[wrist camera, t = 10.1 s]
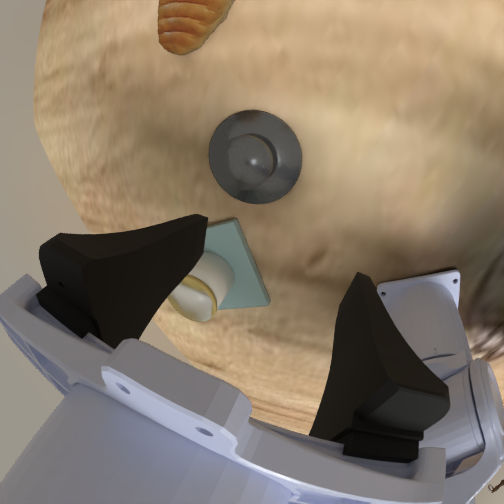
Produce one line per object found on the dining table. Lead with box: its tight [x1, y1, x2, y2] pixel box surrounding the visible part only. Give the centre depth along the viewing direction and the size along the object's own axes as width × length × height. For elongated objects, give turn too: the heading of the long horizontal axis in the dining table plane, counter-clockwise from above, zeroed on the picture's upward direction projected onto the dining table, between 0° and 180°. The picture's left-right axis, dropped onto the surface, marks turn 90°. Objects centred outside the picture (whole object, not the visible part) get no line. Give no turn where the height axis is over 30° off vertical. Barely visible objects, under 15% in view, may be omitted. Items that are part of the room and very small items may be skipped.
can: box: [167, 252, 234, 322], centre depth 25 cm, size 5×5×4 cm
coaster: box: [204, 218, 270, 310], centre depth 27 cm, size 9×9×1 cm
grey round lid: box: [209, 111, 302, 204], centre depth 20 cm, size 8×8×2 cm
